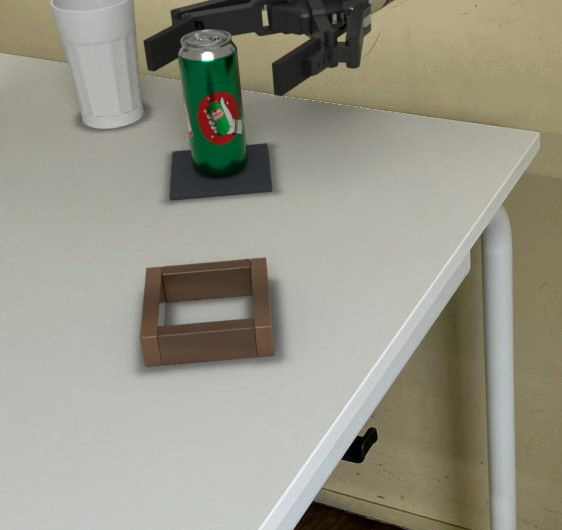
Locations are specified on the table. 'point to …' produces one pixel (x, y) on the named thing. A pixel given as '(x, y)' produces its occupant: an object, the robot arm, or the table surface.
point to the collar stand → (207, 335)
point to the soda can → (213, 103)
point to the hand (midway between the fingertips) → (210, 67)
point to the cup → (101, 59)
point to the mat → (195, 185)
